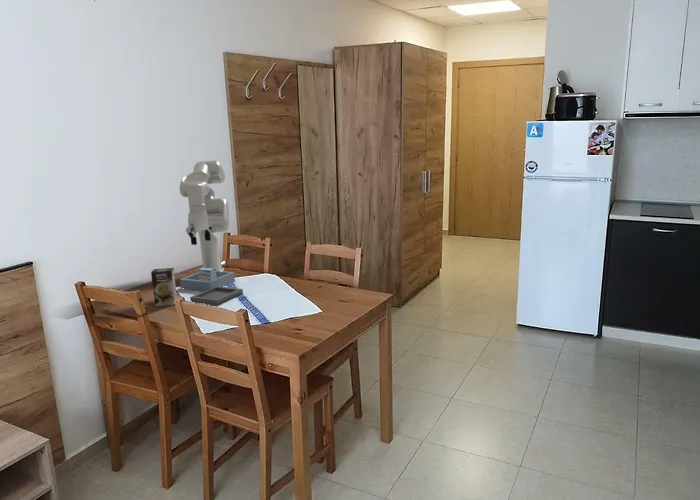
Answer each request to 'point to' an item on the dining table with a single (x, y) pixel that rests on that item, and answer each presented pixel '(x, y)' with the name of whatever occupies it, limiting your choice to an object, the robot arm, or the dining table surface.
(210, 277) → the medicine box
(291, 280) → the dining table surface
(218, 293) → the tray
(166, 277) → the coffee box
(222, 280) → the deep square frame
